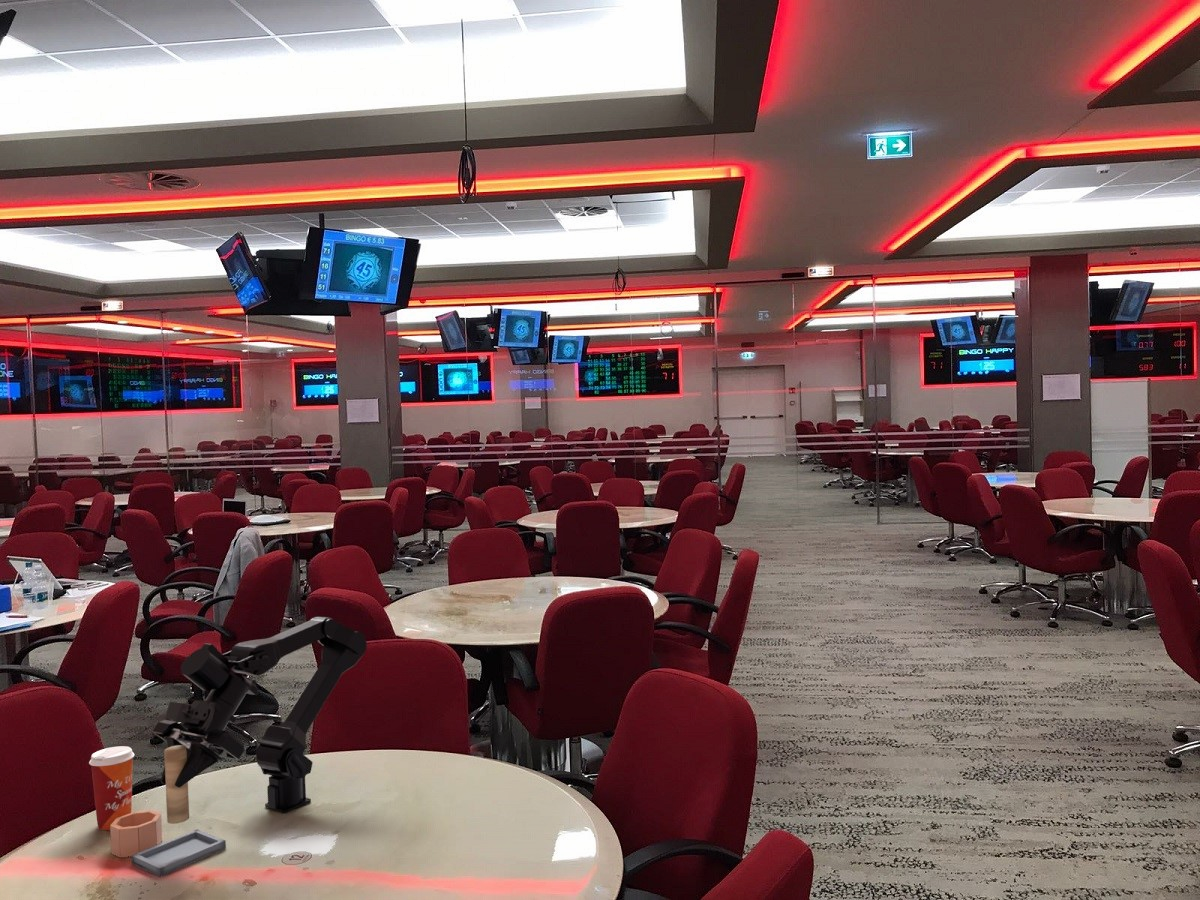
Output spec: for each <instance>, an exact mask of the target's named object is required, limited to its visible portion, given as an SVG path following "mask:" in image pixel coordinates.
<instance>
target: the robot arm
mask: <svg viewBox="0 0 1200 900" xmlns="http://www.w3.org/2000/svg"><path fill="white" fill-rule="evenodd" d="M316 642H318V643H319V644H321V646H323V647H322V649H321V662H320V664H319V666H318V668H317V669H316V671H315V672H314V674H313V675H312V677H311V679H310V681H309V682H308V683H307V685H306V687H305V688H304V690H303V691H302V693H301V694H300V696H299V698H298V699H297V701H296V703H295V704H294V705H293V707H292V709H291V711H290V712H289V714H288V715H287V717H286V719H285V720H284V722H282V723H281V724H280V725H273V724H271V725H269V726H268V727H267V728H266V730H265V732H264V734H263V736H262V737H261V738H260V739H259V740H258V741H257V744H258V745H257V748H256V749H255V756H256V757H255V760H256V763H257V765H258V766H259V767H260V769H261V772H262V774H263V775H264V776H265V775H267V776H268V785H267V790H266V791H267V802H266V803H265V804H264V807H265V808H268V809H271V810H273V811H276V812H281V813H283V814H285V813H287V812H290V811H292V810H294V809H297V808H299V807H302V806H304V805H306V804H309V803H311V802H312V799H311V798H309V797H307V791H306V788H307V787H306V776H307V775H310V774H311V771H312V768H313V761H312V759H310V758H308V757H307V756H306V755H304V752H305V750H306V747H307V743H306V742H307V733H308V731H309V729H310V728H311V726H312V725H313V722H315V720H316V718H317V716H318V715H319V713H320V711H321V710H322V708H323V706H324V705H325V703H326V701H327V699H328V698H329V696H330V695H331V693H332V692H333V689H334V688H335V686H336V685H337V683H338V682H339V680H340V678H341V676H342V675H343V674H344V673H345V672H347V671H348V670H350V669H351V668H353V667H354V666H356V665H357V663H358V662H359V661H360V660H361V658H362V657H363V656H364V655H365V653H366V650H367V648H368V645H367V643H368V642H367V639H366V636H365V634H364V633H362V631H355V630H354V629H352V628H350V627H347V626H345V625H343V624H342V623H340V622H338V621H337V620H335V619H333V618H332V617H329V616H327V617H326V616H314V617H312V618H311V619H309V620H308V621H305V622H304V623H301V624H298V625H296V626H294V627H292V628H290V629H287V630H284V631H282V632H279V633H277V634H275V635H273V636H271V637H266V638H261V639H253V640H252V639H251V640H247V641H242V642H238V643H236V644H234V646H232V647H231V650H230V651H227V652H224V653H222V652H220V651H219V650H218V648H217V647H216V646H215V645H213V644H211V643H206V642H205V643H203V645H202V646H201V648H199V649H196V650H195V651H193V652H192V653H191V654H189V655H188V656H186V657H185V659H184V660H183V661H182V664H181V667H180V672H181V675H183V676H184V677H185V678H186V679H188V680H189V681H191V682H192V683H193V684H194V685H196V686H197V687H198V688H200V689H201V690H202V691H204V692H209V693H208V695H207V697H206V698H205V700H202V699H198V700H197V699H195V700H194V701H193V702H192V703H191V704H188V703H182V702H176V701H169V702H168V706H167V708H166V711H165V714H164V717H163V720H161V721H158V722H157V723H156V725H155V726H154V728H153V729H152V731H151V732H152V734H154V735H155V736H157V737H158V738H160V739H161V740H163V741H164V742H165V743H166V745H167V748H169V747H172V746H177V745H184V746H186V749H187V762H186V764H185V765H184V767H183V769H182V771H181V772H180V774H179V776H178V778H177V780H176V782H175V786H176V787H178V788H180V787H181V786H183V785H184V784H186V783H187V782H188V783H189V782H190V781H191V780H192V779H194V778H195V777H197V776H198V775H199V774H201V773H202V772H204V771H205V770H207V769H209V768H210V767H211V766H213V765H214V764H216V763H218V762H222V761H223V758H222V754H223V753H224V752H226V758H227V759H229V760H236V761H239V760H240V759H241V757H242V756H243V754H244V752H245V743H244V742H243V741H242V740H240V739H239V738H237V737H236V736H235V735H234V734H232V733H231V732H230V731H226V730H225V729H226V727H227V725H228V724H229V723H231V724H235V722H236V720H237V717H236V716H235V715H234V714H235V712H236V711H237V710H238V708H239V706H240V705H241V703H242V702H243V700H244V698H245V696H246V694H248V695H255V696H257V695H258V694H259V692H258V691H259V690H258V687H257V680H256V679H250V678H249V679H248V678H247V677H245V676H244V675H252V676H262V675H264V674H266V673H267V672H269V671H271V669H273V668H274V667H276V666H277V665H278V664H279V661H280V660H281V659H283V657H284V658H285V656H287V655H288V656H289V655H290V654H293V653H294V652H296V651H298V650H301V649H303V648H305V647H307V646H309V645H311V644H314V643H316ZM243 674H244V675H243ZM160 782H161V784H163V785H166V779H165V765H164V768H163V771H162V774H161V778H160Z"/></svg>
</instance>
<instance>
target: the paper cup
mask: <svg viewBox="0 0 1200 900" xmlns="http://www.w3.org/2000/svg"><path fill="white" fill-rule="evenodd" d="M134 757H135V753H134V752H133V749H132V748H131V747H130V746H127V745H126V746H125V745H121V746H111V747H106V748H104V749H100V750H97V751H96V752H93V753H92V754H91V756H90V760H89V762H88V764H89V765H90V768H91V779H92V785H93V786H92V787H93V797H94V806H95V814H96V815H95V816H96V824H97V829H98V828H99V829H101V830H100V831H103V830H108V831H110V825H111V824H112V823H113V822H114V821H115V819H116V818H119V817H121V816H124V815H127V814H130V813H132V806H133V805H132V804H133V803H132V801H133V763H134V761H133V759H134ZM99 829H98V830H99Z"/></svg>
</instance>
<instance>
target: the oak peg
mask: <svg viewBox="0 0 1200 900" xmlns="http://www.w3.org/2000/svg"><path fill="white" fill-rule="evenodd" d="M163 752H164V754H163V755H164V766H165V779H166V784H165V796H166V797H165V798H166V799H165V801H166V822H167V823H168V824H170V825H171V824H172V825H174V824H181V823H184V822H186V821H188V820H189V819H190V801H189V781H188V782H187V783H186V784H184V785H183V786H181V787H180V788H178V787H176V786H175V782H176V780H177V778H178V776H179V774H180V772H181V771H182V769H183V767H184V765H185V764H186V762H187V749H186V746H184V745H177V746H172V747H169V748H168V747H167V748H165V749H164V751H163Z"/></svg>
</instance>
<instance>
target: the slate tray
mask: <svg viewBox="0 0 1200 900" xmlns="http://www.w3.org/2000/svg"><path fill="white" fill-rule="evenodd" d="M226 845H227V843H226V839H224V838H221V837H219V836H215V835H213V834H211V833H208V832H205V831H203V830H201V829H194V830H192V831H190V832H187V833H184V834H182V835H179V836H177V837H175V838H173V839H170V840H167V841H165V842H161V843H160V844H159V845H157V846H154V847H152V848H149V849H147V850H144V851H142V852H139V853H137V854H135V855H132V856H131V865H133V864H134V865H133V866H135V867H137V866H138V867H137V868H139V867H140V869H141V868H142V869H141V870H143V869H144V870H143V871H145V870H146V872H148V873H151V874H152V875H155V876H156V875H157V877H158V876H159V878H162V877H163V876H167V875H168V873H169V874H171V873H173V872H176V871H177V869H178V870H180V869H182V868H184V866H185V867H187V866H190V865H191V864H190V863H192V864H193V862H194V861H196V862H198V861H197V860H199V861H200V859H201V860H203V859H205V858H208V857H210V856H212V855H215V854H216V852H217V853H220V852H222V851H224V850H227V847H226ZM223 849H224V850H223ZM221 850H222V851H221ZM214 853H215V854H214ZM211 854H212V855H211ZM209 855H210V856H209ZM207 856H208V857H207ZM202 858H203V859H202ZM194 863H195V862H194ZM186 865H187V866H186ZM179 868H180V869H179ZM175 870H176V871H175ZM170 872H171V873H170ZM161 876H162V877H161Z"/></svg>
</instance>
